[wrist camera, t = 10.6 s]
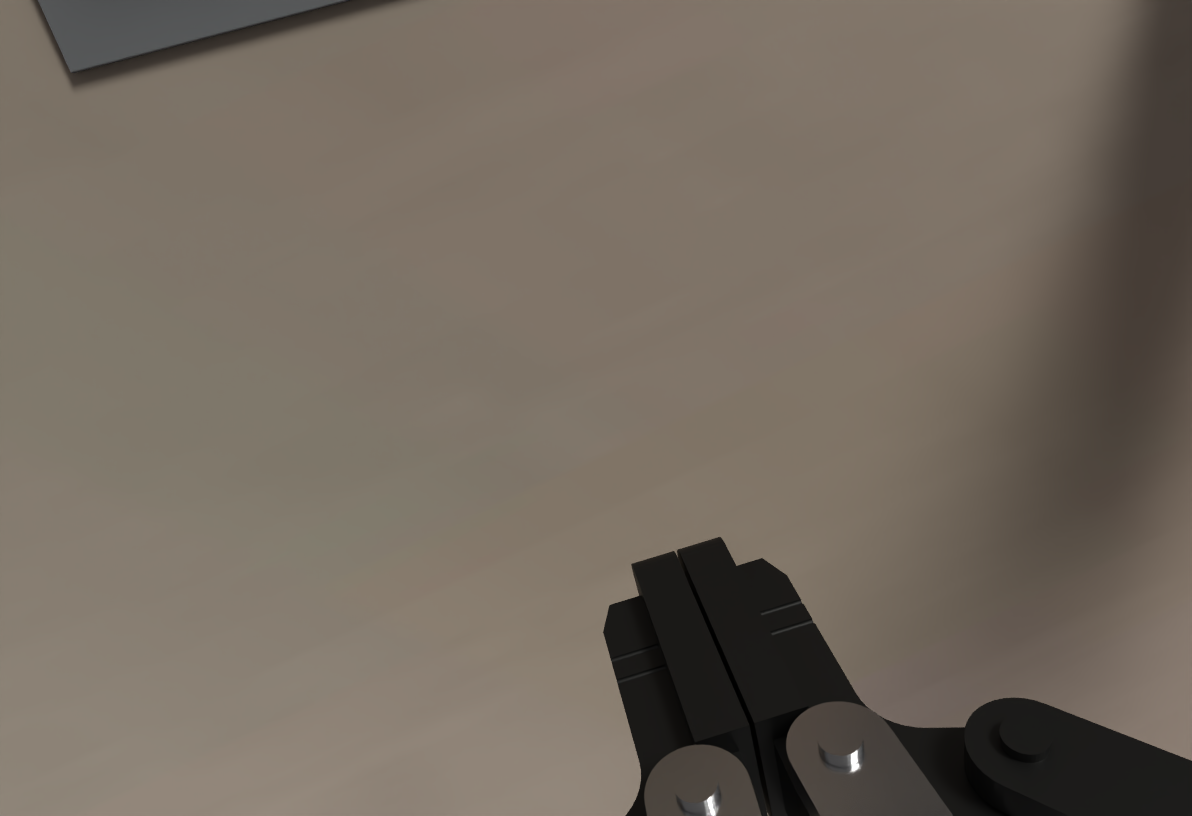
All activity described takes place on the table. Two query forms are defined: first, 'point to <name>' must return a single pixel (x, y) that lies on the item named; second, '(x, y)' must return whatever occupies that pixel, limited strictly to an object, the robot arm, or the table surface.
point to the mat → (153, 24)
